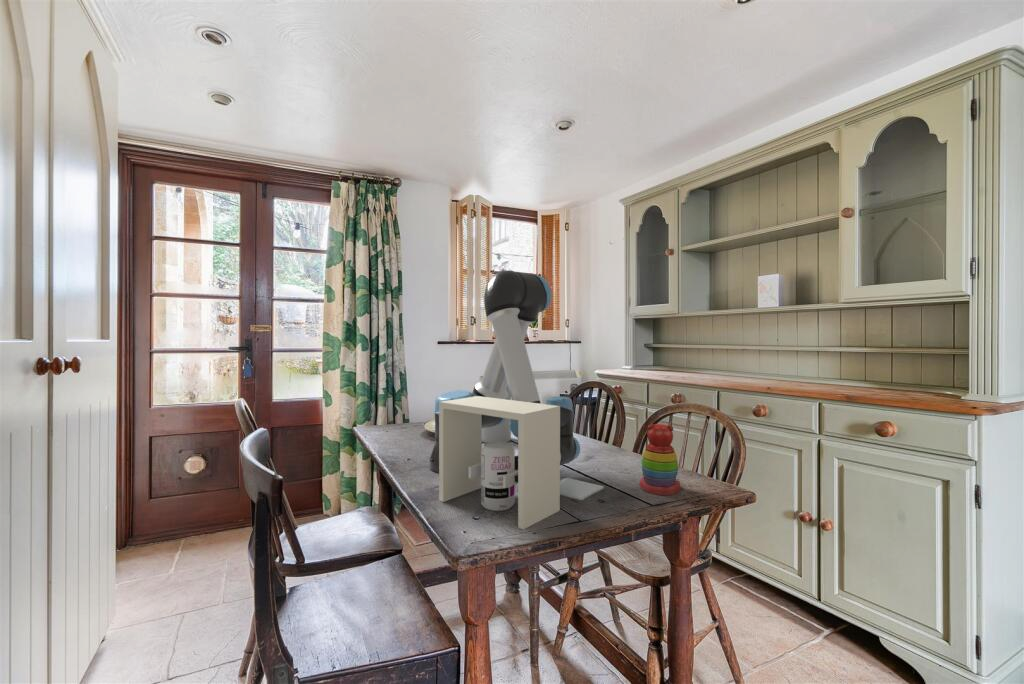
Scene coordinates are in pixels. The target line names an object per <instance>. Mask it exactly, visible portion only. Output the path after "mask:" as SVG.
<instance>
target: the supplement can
mask: <svg viewBox="0 0 1024 684" xmlns="http://www.w3.org/2000/svg"><path fill="white" fill-rule="evenodd" d="M515 452H516V451H515V449H514V447H513V444H512V443H510V442H509V441H508V442H501V441H496V442H488V443H484V444H483V446H482V450H481V488H480V499H481V500H480V502H481V505H482V506H483V507H484V508H485V509H486V510H488V511H493V512H495V511H497V512H500V511H502V512H503V511H507V510H509V509H511V508H512V507H513V506H514V504H515V502H516V501H515V497H516V496H515V490H516V489H515V487H516V486H515V485H516V484H514V485H512V486H509V487H507V488H504V487H503V476H504V475H506V474H509V473H512V472H515V471H516V470H515V456H516V455H515V454H516V453H515Z"/></svg>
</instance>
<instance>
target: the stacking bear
mask: <svg viewBox="0 0 1024 684" xmlns="http://www.w3.org/2000/svg"><path fill="white" fill-rule="evenodd" d="M673 431H674V426H673V425H671V424H668V425H666V424H663V423H655V424H653V423H650V424H648V426H647V432H646V433H647V440H648V444H647V445H646V446H645V449H644V451H643V455H642V459H641V472H642V476H643V477H641V478H640V480H639V486H640V488H641V489H642V490H644V491H645V492H647V493H649V494H651V495H652V494H654V495H658V496H659V495H661V496H669V495H670V496H671V495H675V494H677V493H678V492H680V490H681V488H682V486H681V483H680V481H679V480H677V477H678V473H679V463H678V458H677V457H678V456H677V452H676V451H675V448H674V447H673V446H672V442H673V439H674V433H673Z"/></svg>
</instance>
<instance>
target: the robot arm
mask: <svg viewBox="0 0 1024 684" xmlns="http://www.w3.org/2000/svg"><path fill="white" fill-rule="evenodd" d="M483 295H484V296H483V305H484V311H485V316H486V319H487V321H489V322H491V324H492V328H493V332H494V336H495V340H494V342H493V347H492V349H491V351H490V354H489V357H488V360H487V364H486V366H485V369H484V372H483V375H482V376H483V377H482V380H481V381H479V380H478V381H477V382H476V383H475V385H474V387H473V390H472V392H471V391H469V390H454V391H453V390H451V391H447V392H443V393H441V394H439V395H437V397H436V398H435V401H434V409H433V412H434V446H433V449H432V451H431V454H430V457H429V463H428V464H429V465H428V466H429V470H431V471H433V472H435V473H439V402H442V401H448V400H455V399H461V398H468V397H475V396H481V397H490V398H498V399H506V400H509V399H508V392H507V391H506V387H507V384H508V387H509V391H510V395H511V400H514V401H522V402H531V403H539V404H542V403H541V399H540V395H539V392H538V388H537V383H536V380H535V377H534V373H533V369H532V365H531V361H530V358H529V353H528V351H527V346H526V343H525V338H526V334H527V332H528V329H529V327H530V325H531V324H534V323H536V321H537V318H538V316H539V313H541V312H543V311H545V310H547V309H548V307H550V304H551V301H552V297H553V296H552V288H551V287H550V283H549V281H547V279H546V278H545V277H543V276H541V275H539V274H535V273H532V272H522V271H521V272H520V271H515V270H510V269H509V270H501V271H499V272H497V273H495V274H494V275H493V276H492V277H491V278H490V279H489V280H488V283H487V284H486V286H485V290H484V294H483ZM546 404H547V405H555V406H560V466H563V465H566V464H569V463H571V462H573V461H575V460H576V459H577V458H578V457H579V455H580V452H581V446H580V443H579V441H578V439H577V438H575V436H574V409H573V401H572V399H571V398H570V397H568V396H550V397H548V398H547V399H546ZM505 419H506V418H501V417H495V416H489V415H482V428H486V427H493V426H496V425H498V424H500V423H502V422H503V421H505ZM509 425H510V429H511V434H513V436H514V437H515V438H517V439H518V420H514V419H510V424H509ZM479 475H481V463H480V464H476V465H473V466H470V467H469V478H473V477H476V476H479ZM514 484H515V485H518V455H515V472H512V473H509V474H506V475H504V476H503V487H504V488H507V487H509V486H512V485H514Z"/></svg>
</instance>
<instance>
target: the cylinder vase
mask: <svg viewBox="0 0 1024 684" xmlns="http://www.w3.org/2000/svg"><path fill="white" fill-rule="evenodd" d="M482 377H483V375H481V376H478V382H479V381H481V380H482ZM506 391H507V392H508V399H509V400H512V398H511V395H510V391H509V387H508V384H507V387H506ZM509 424H510V419H508V418H506V419H505V421H503V422H502V423H500V424H498V425H496V426H493V427H486V428H482V443H484V444H485V443H488V442H496V441H501V442H508V443H509V441H511V439H512V432H511V429H510V425H509Z"/></svg>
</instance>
